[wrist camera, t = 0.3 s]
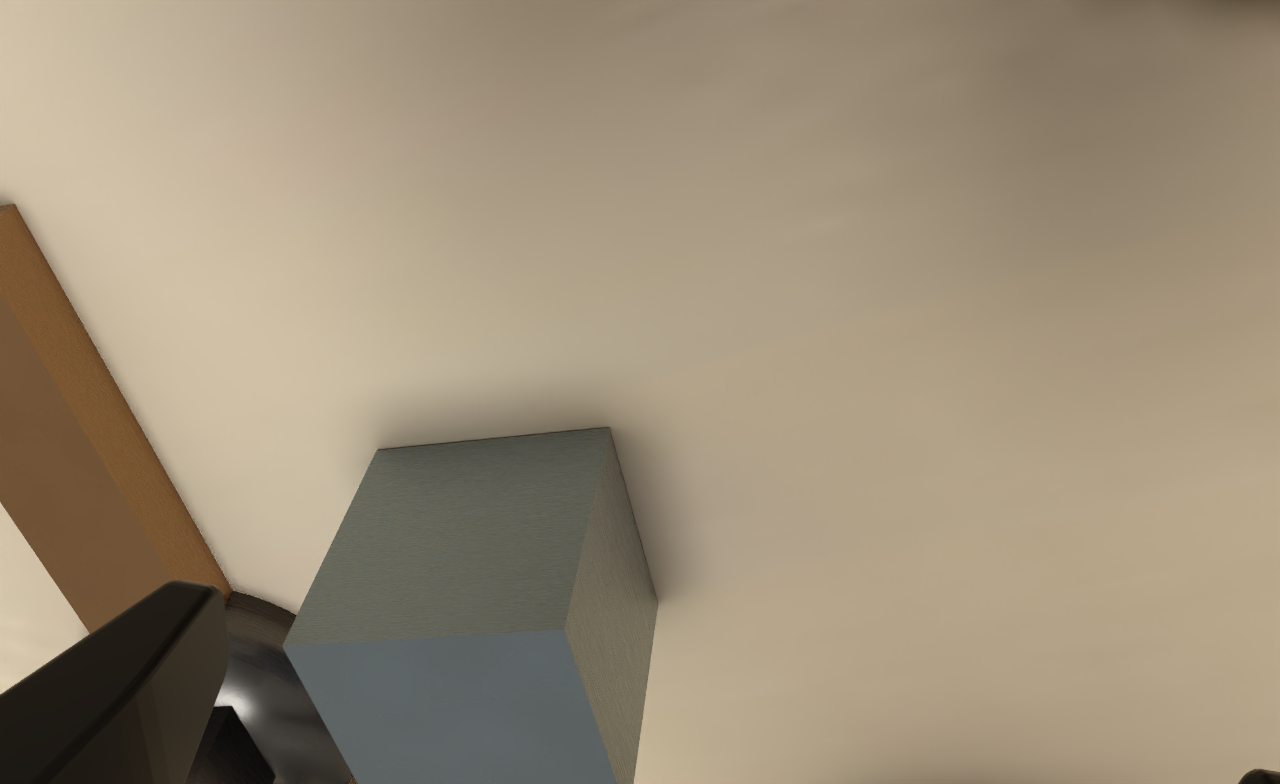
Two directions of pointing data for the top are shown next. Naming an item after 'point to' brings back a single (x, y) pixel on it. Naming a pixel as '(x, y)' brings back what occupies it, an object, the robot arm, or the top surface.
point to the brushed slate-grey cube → (483, 616)
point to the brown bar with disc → (132, 525)
